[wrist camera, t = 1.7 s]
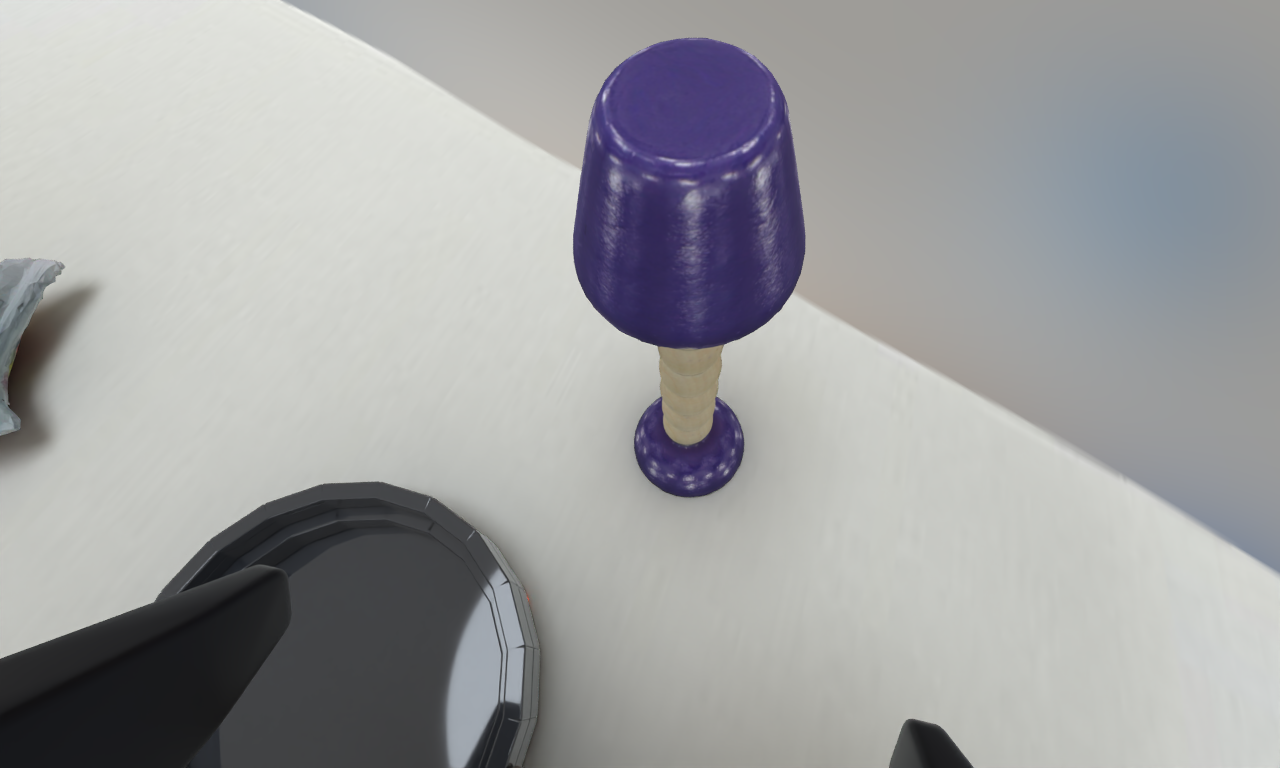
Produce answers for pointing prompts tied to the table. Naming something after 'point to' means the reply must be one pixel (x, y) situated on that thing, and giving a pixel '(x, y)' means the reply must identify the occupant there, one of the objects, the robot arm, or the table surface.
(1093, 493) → the table surface
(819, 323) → the table surface
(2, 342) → the packaged food
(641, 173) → the toy lamp
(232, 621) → the robot arm
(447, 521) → the pan
